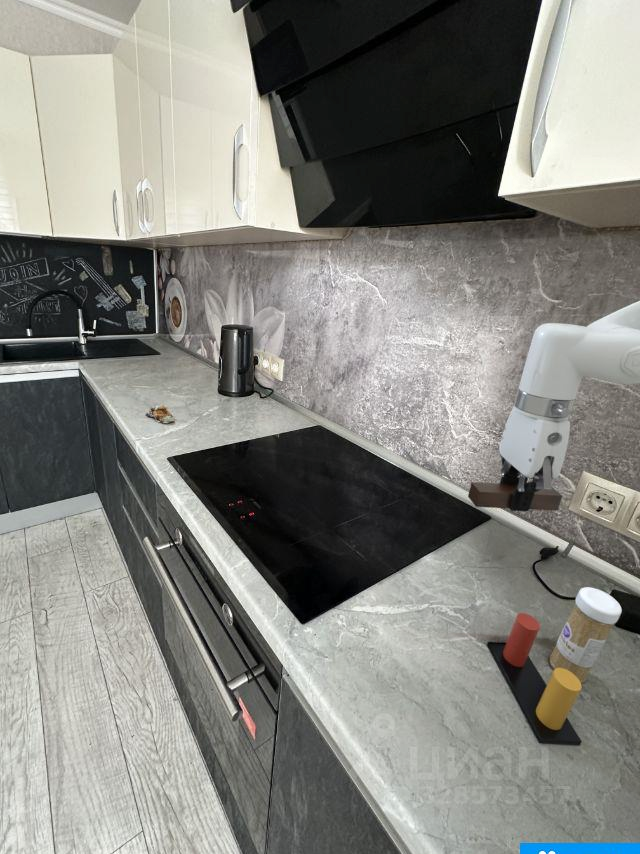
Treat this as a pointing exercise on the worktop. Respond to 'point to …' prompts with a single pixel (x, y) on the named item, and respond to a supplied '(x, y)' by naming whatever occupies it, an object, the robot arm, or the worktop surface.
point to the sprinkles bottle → (585, 632)
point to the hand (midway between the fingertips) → (512, 502)
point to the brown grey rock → (160, 414)
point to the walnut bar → (510, 496)
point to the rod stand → (537, 685)
